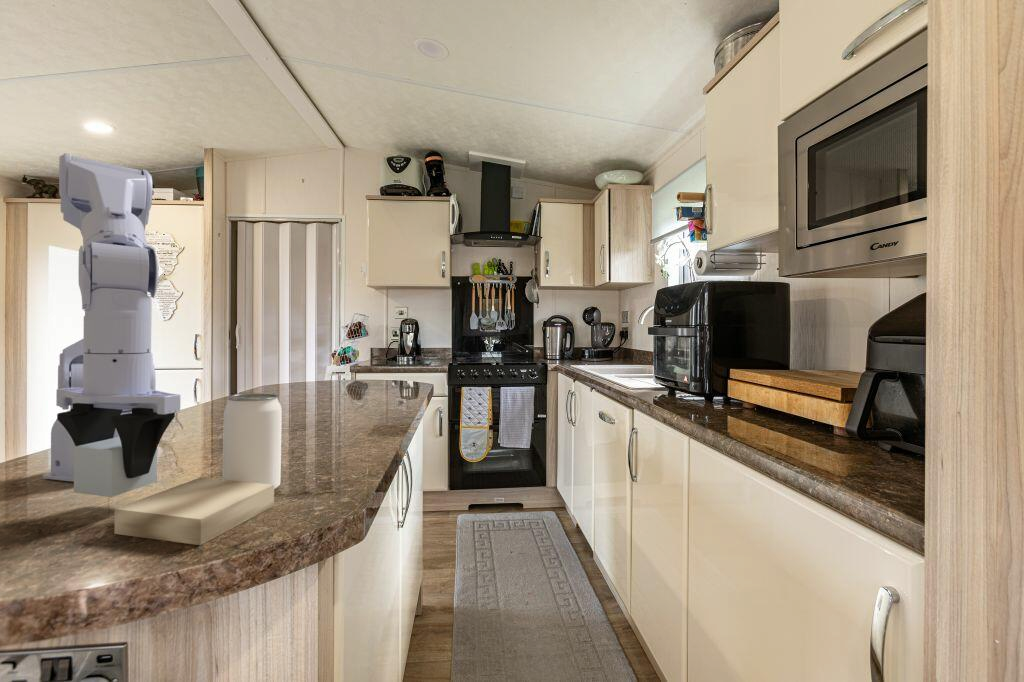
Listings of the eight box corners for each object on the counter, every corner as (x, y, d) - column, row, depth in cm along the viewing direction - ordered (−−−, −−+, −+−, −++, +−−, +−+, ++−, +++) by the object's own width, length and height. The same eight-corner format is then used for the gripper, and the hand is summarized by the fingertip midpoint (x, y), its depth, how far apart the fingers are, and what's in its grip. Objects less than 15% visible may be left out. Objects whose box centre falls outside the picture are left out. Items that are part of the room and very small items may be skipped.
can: (254, 501, 54) (256, 401, 54) (209, 495, 56) (210, 398, 55) (291, 483, 61) (293, 394, 60) (249, 479, 62) (251, 391, 62)
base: (114, 533, 45) (114, 508, 45) (200, 497, 55) (201, 477, 55) (200, 545, 43) (200, 519, 43) (273, 505, 53) (274, 484, 53)
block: (73, 492, 49) (74, 446, 49) (121, 477, 54) (121, 436, 54) (111, 497, 48) (112, 450, 48) (156, 481, 53) (157, 439, 53)
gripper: (23, 351, 48) (22, 478, 48) (136, 357, 45) (135, 491, 46) (95, 348, 55) (94, 459, 55) (197, 354, 52) (195, 470, 53)
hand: (117, 473), depth 51 cm, fingers closed on block, 5 cm apart
